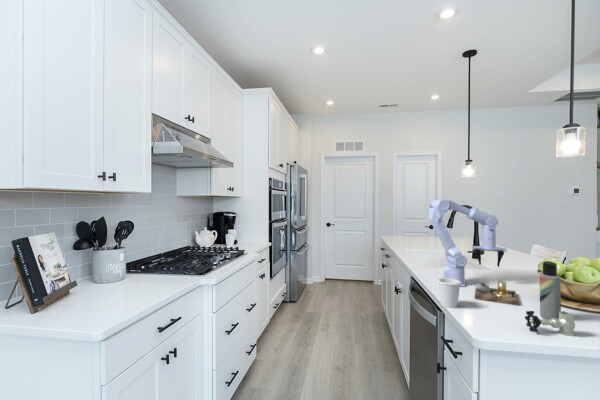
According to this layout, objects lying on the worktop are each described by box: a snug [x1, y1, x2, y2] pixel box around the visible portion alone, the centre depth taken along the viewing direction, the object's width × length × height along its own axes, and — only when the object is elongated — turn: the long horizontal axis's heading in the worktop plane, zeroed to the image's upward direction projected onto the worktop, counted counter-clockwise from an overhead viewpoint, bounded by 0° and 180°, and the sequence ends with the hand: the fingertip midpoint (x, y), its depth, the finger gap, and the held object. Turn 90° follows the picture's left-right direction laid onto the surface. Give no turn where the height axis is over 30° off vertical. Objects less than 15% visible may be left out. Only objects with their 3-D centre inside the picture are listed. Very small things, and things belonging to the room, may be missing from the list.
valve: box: [524, 310, 576, 337], centre depth 93 cm, size 7×7×12 cm
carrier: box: [474, 282, 519, 306], centre depth 128 cm, size 15×16×5 cm
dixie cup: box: [437, 278, 461, 309], centre depth 118 cm, size 8×8×10 cm
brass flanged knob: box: [491, 280, 513, 298], centre depth 127 cm, size 7×7×6 cm
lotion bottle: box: [539, 260, 562, 320], centre depth 105 cm, size 6×6×20 cm
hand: (489, 265), depth 146 cm, fingers open, 7 cm apart
